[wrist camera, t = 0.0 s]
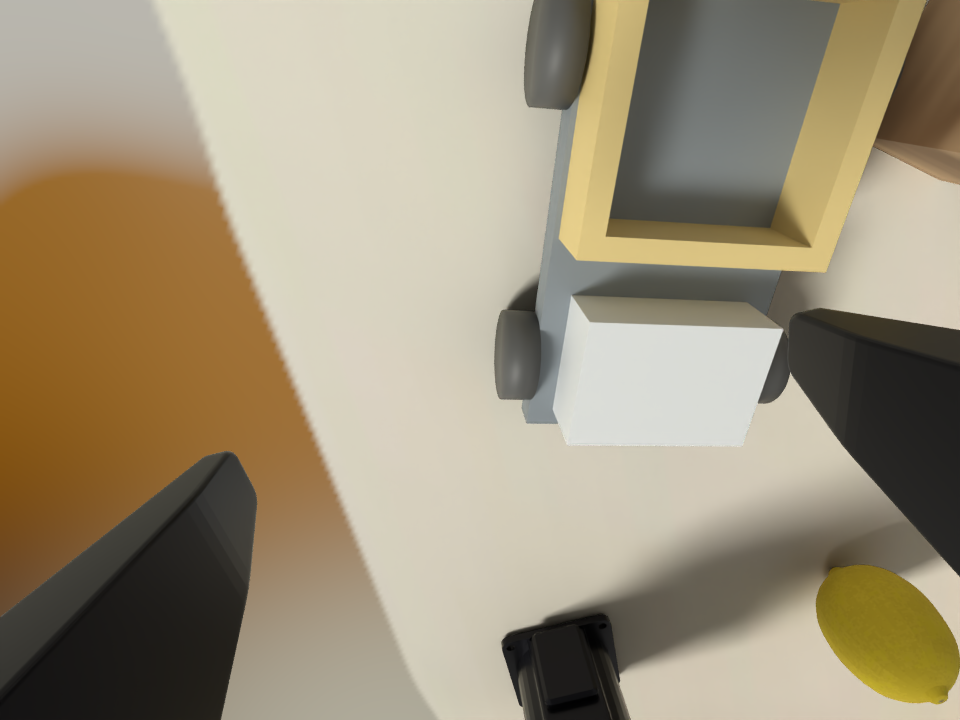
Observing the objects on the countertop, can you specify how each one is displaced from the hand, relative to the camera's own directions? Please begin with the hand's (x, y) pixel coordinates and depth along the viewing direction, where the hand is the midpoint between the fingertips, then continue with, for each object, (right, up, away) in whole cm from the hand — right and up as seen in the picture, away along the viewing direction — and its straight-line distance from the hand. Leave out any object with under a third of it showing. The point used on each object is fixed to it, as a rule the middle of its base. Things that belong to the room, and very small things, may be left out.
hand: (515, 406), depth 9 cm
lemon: (+21, -12, +25) cm, 35 cm away
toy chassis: (+6, +6, +14) cm, 17 cm away
